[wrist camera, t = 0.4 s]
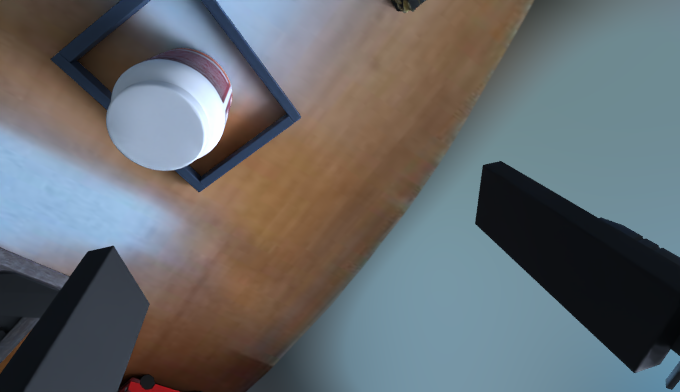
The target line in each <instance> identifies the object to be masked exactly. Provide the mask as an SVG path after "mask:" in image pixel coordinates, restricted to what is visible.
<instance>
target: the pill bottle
mask: <svg viewBox="0 0 680 392" xmlns="http://www.w3.org/2000/svg"><path fill="white" fill-rule="evenodd" d="M231 103H232V88H231V83H230V80H229V78H228V76H227V74H226V73H225V71H224V70H223V68H222V67H221V66H220V64H219V63H218V62H217V61H215V60H214V59H213V58H212V57H210V56H209V55H207V54H205V53H203V52H201V51H198V50H195V49H190V48H177V49H172V50H169V51H166V52H164V53H161V54H159V55H157V56H154V57H152V58H149V59H147V60H145V61H142V62H140V63H138V64H136V65H134V66H132V67H131V68H129V69H128V70H126V71H125V72H124V73H123V74H122V75H121V76H120V77H119V79H118V80H117V82H116V84H115V86H114V88H113V91H112V96H111V103H110V105H109V107H108V110H107V115H106V125H107V129H108V133H109V136H110V138H111V140H112V141H113V143H114V144H115V146H116V147H117V148H118V150H119V151H120V152H121V153H122V154H123V155H125V156H126V157H127V158H128V159H130V160H131V161H133V162H135V163H136V164H139V165H141V166H143V167H146V168H149V169H153V170H161V171H170V170H176V169H180V168H183V167H185V166H187V165H189V164H190V163H192V162H193V161H194V160H196V159H198V158H200V157H202V156H204V155H206V154H207V153H209V152H210V151H211V150H212V149H213V148H214V147H215V146H216V145H217V143H218V142H219V140H220V138H221V136H222V134H223V131H224V128H225V124H226V120H227V117H228V114H229V110H230V107H231Z"/></svg>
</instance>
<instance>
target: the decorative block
mask: <svg viewBox="0 0 680 392" xmlns="http://www.w3.org/2000/svg"><path fill="white" fill-rule="evenodd" d="M391 1H392V2H393V4H394V6H395V8H396V10H397V11H402V12H404V13H406V12H408V11H410V10H411V11H412V12H414V11H415V9H416V8H417V7H418V6H419V5H420V4H422V3H423V2H424V1H426V0H391Z"/></svg>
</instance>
